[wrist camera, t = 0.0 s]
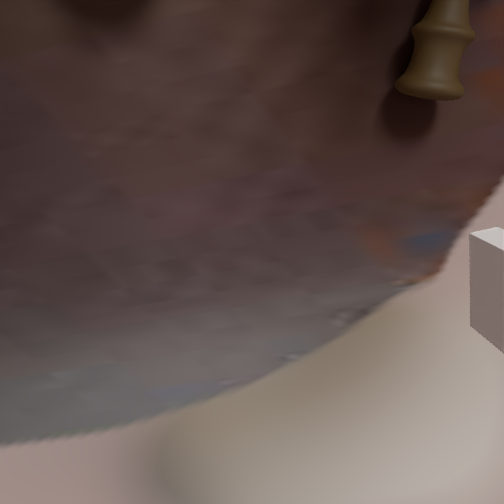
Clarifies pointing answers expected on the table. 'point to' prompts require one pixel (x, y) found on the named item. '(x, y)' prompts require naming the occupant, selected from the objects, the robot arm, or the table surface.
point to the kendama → (438, 52)
